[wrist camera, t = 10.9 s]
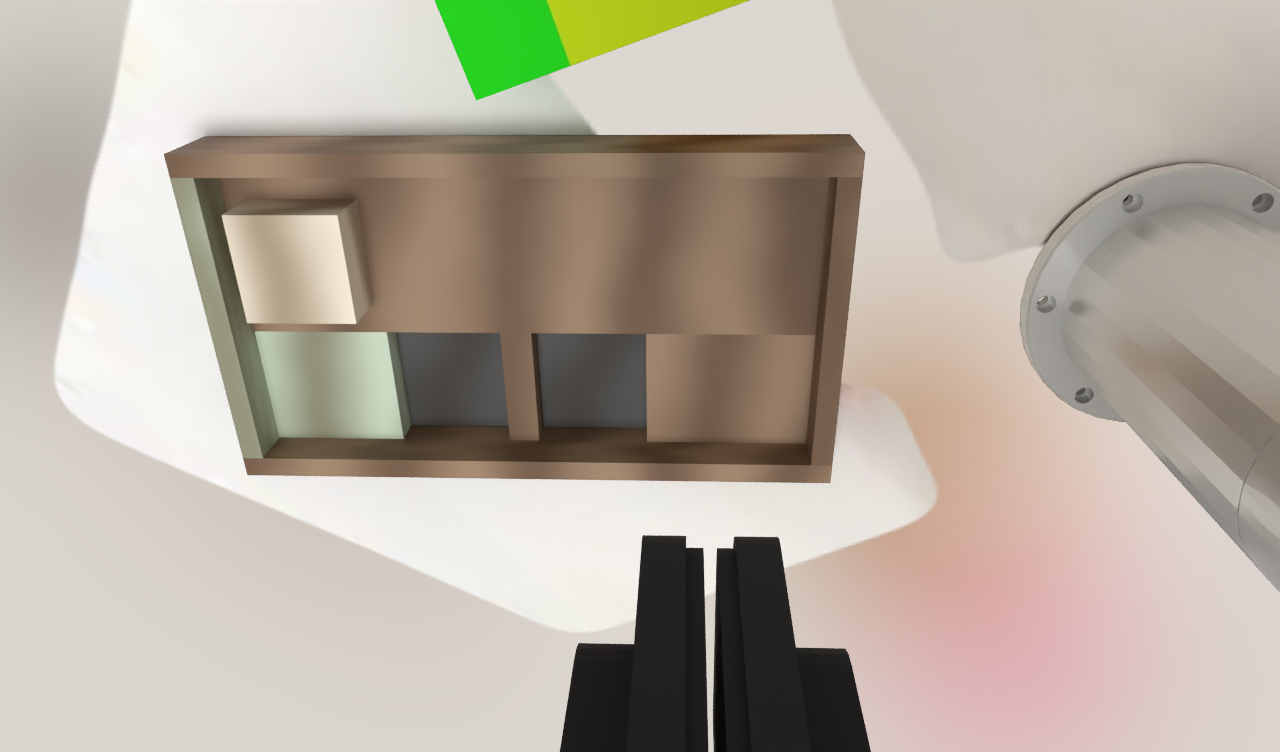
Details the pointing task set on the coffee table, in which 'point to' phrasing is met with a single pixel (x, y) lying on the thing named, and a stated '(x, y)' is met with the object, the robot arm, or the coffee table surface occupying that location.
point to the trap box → (545, 305)
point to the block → (299, 260)
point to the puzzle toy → (553, 33)
